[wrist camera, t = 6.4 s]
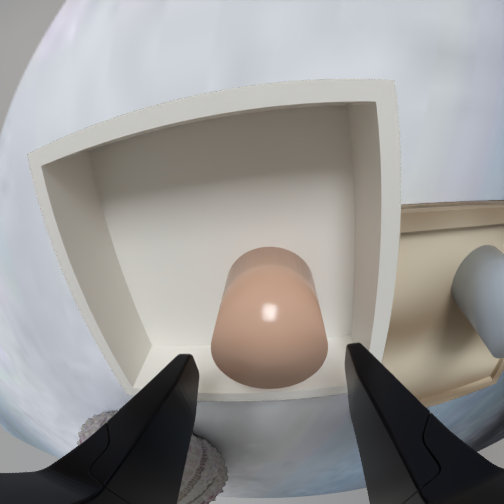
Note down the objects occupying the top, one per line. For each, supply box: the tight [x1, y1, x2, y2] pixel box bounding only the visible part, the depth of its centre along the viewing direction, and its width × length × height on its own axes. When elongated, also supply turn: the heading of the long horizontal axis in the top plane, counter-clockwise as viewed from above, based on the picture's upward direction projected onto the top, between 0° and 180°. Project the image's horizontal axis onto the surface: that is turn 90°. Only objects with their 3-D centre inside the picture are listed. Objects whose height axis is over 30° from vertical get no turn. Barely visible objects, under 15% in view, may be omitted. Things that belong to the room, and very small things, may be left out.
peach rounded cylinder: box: [211, 247, 328, 389], centre depth 10 cm, size 4×4×4 cm
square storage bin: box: [27, 79, 401, 401], centre depth 10 cm, size 11×11×4 cm
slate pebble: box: [452, 245, 504, 358], centre depth 9 cm, size 4×4×4 cm
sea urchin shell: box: [77, 410, 228, 504], centre depth 17 cm, size 13×14×8 cm
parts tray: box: [382, 200, 504, 407], centre depth 13 cm, size 14×12×1 cm
